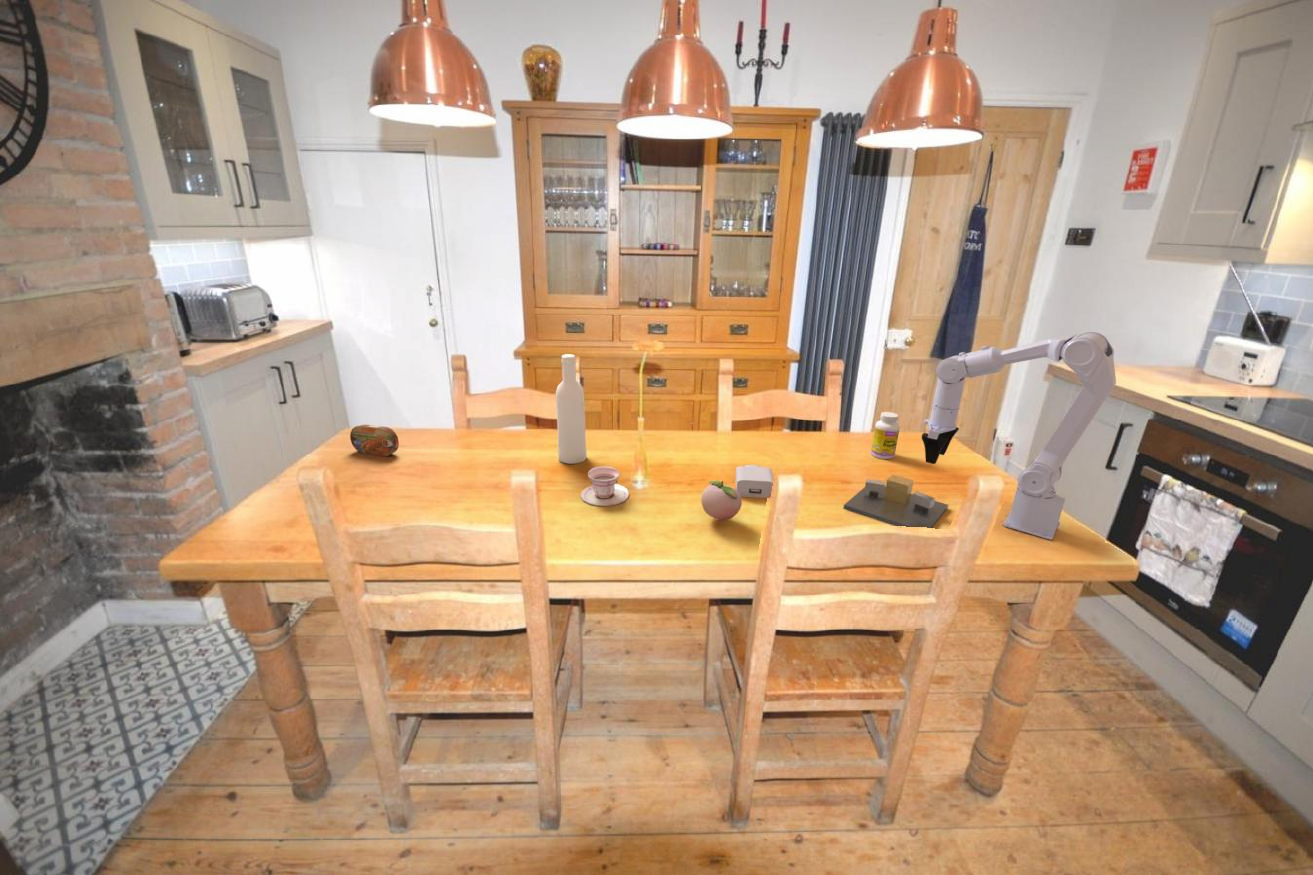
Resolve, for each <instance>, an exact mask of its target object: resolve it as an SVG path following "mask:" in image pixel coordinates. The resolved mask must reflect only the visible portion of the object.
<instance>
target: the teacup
mask: <svg viewBox="0 0 1313 875" xmlns="http://www.w3.org/2000/svg"><path fill="white" fill-rule="evenodd" d="M620 474H621V473H620V471H619V470H618V469H617V468H615V467H611V466H606V465H605V466H601V465H600V466H596V467H593V468H591V469H589V471H588V472H587V476H588V477H587V478H588V479H589V480H590V481H591V484H592V485H590V486H587V487H586V488H584V489H583V490H582V491H581V493H580V498H581V499H582V501H583V502H585V503H586V504H589V505H592V506H597V507H598V506H599V507H608V506H609V507H610V506H615V505H619V504H621V503H624V502H625V501H626V500H628V498H629V496H630V491H629V490H628V489H627V488H626V487H625V486H623V485H620V484H617V482H618V479H619V477H620V476H621V475H620ZM613 494H614V496H613V497H612V498H610V497H611V496H612V495H613Z"/></svg>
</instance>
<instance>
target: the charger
mask: <svg viewBox="0 0 1313 875" xmlns="http://www.w3.org/2000/svg"><path fill="white" fill-rule="evenodd" d="M734 480H735V489H736V490H737V491H738V492H739V494H740V496H741V498H742V497H743V498H744V497H745V498H760V499H761V498H762V499H771V498H770V497H771V491H772V486H773V480H774V474H773V471H772V469H771V468H770V467H767V466H760V465H757V464H747V465H740V466H737V467H736V469H735V478H734ZM774 481H775V480H774Z"/></svg>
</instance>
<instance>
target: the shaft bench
mask: <svg viewBox="0 0 1313 875" xmlns="http://www.w3.org/2000/svg"><path fill="white" fill-rule="evenodd" d="M886 483H887V481H880V480H875V479H871V478H866V479H865V486H864V487H863V488H862V489H860V490H859V491H858V492H857V493H856V494H855V495H853V497H851V498H850V499H849V500H848V501H847V502H846V503H844V504H843V509H844V510H847V511H850V512H853V513H855V514H859V515H862V516H866V517H868V518H871V519H874V520H877V521H880V522H883V523H887V524H889V525H893V526H896V527H898V526H906V527H927V528H932V529H933V528H934V526H935V525H936V524H937V522H939V520H940V519H941V518H942V516H943V515H944V514H945V513H946V511H947V510H948V508H949V504H947V503H944V502H940V501H937V500H936V498H935V497H932V496H930V495H928V494H925V493H923V492H920V491H915V492H913V493H911V497H910V499H909V501H908V502H907V503H906V504H901V503H898V502H895V501H891V500H888V499H885V498H884V495H885V489H886Z"/></svg>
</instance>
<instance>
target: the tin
mask: <svg viewBox="0 0 1313 875" xmlns="http://www.w3.org/2000/svg"><path fill="white" fill-rule="evenodd" d="M349 437H350V442H351V445H352V447H353V448H354V449H355V450H356V451H357V452H359V453H360V454H364V455H365V454H366V455H371V456H379V457H388V456H390V455H392V454H395V452H397V451H398V449H399V444H400V443H399V437H398V435H397V433H396V432H395V431H394V430H393V428H390V427H387V426H380V425H374V424H373V425H372V424H361V425H356V426H354V427H352V429H351V431H350V434H349Z"/></svg>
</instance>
